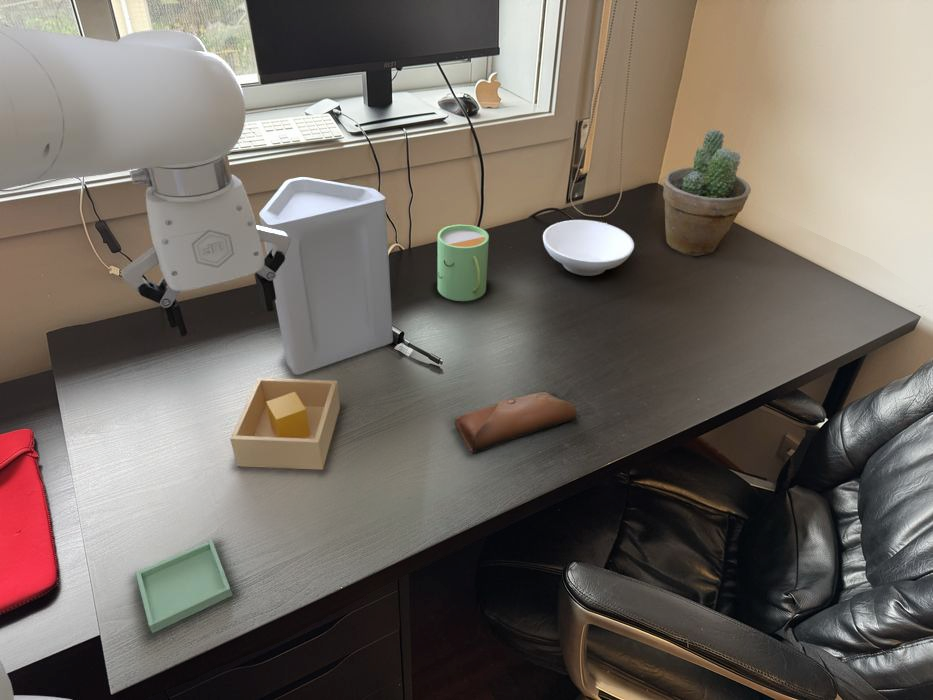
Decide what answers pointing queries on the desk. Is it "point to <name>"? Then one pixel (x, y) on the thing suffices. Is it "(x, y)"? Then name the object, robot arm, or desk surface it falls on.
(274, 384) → the sand bin
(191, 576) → the green tray
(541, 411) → the sunglasses case
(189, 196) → the robot arm
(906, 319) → the desk surface
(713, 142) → the potted plant
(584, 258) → the bowl
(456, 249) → the mug
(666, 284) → the desk surface
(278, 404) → the mustard box
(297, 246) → the white triangular prism tub
